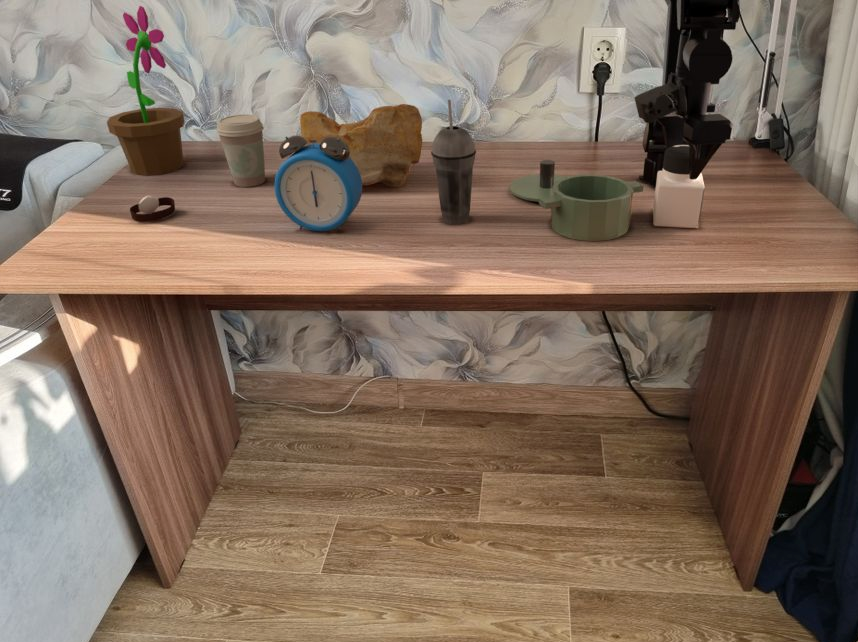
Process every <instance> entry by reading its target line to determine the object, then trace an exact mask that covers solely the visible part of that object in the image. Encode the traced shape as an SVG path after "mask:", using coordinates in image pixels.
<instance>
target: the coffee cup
mask: <svg viewBox="0 0 858 642" xmlns="http://www.w3.org/2000/svg"><path fill="white" fill-rule="evenodd" d="M264 129H265V128H264V126H263V123H262V121H261V119H260V117H259V116H258V115H254V114H248V113H247V114H244V113H243V114H233V115H228V116H224V117H221V118H219V119H218V120H217V127H216V134H217V135H218V136H219V140H220V143H221V145H222V149H223V152H224V155H225V159H226V161H227V165H228V167H229V171H230V174H231V177H232V180H233V183H234V185H235V186H236V187H240V188H253V187H256V186H261V185H262V184H264V183H265V182H266V172H265V153H264V136H263V135H264V134H263V130H264Z"/></svg>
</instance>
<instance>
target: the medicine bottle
mask: <svg viewBox="0 0 858 642" xmlns="http://www.w3.org/2000/svg"><path fill="white" fill-rule="evenodd" d="M689 151H690V147H689V145H676V146H672V147H669V148H668V149H667V150H666V151H665V154H664V162H663V170H662V171H658V173H657V181H656V188H655V189H654V190H655V191H654V198H653V206H652V221H653V223H652V224H653V226H654V227H665V228H682V229H683V228H684V229H698V228H699V227H700V226H699V225H700V220H701V214H702V207H703V202H704V194H705V189H706V187H705V182H704V177H703V173H702V172H701V173H700V175H699V176H698V178H697V179H692V180H691V179H690V178H689Z"/></svg>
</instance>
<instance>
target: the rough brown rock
mask: <svg viewBox="0 0 858 642" xmlns="http://www.w3.org/2000/svg"><path fill="white" fill-rule="evenodd" d="M299 117H300V118H299V122H300V132H301V134H300V135H301V136H302V137H304V138H305V139H306V140H307V142H308V143H307V144H306V145H309V144H314V143H320V142H321V141H322V140H323V139H324V138H326V137H329V136H335V137H338V138H340V139H342V140H343V141H345V142H346V144H347V145H348V147H349V150H350V155H349V157H350V158H351V160H352V161H353V162H354V163H355V165H356V167H357V168H358V171H359V173H360V176H361V180H362V186H370V185H373V184H376V183H381V184H384V185H386V186H388V187H392V188H401V187H402V186H404V185H405V184H406V181H407V178H408V175H409V173H410V169H411V168H410V167H412V166H414V165H416V164H418V163H420V161H421V155H422V149H423V135H422V128H423V117H422V115H421V113H420V110H419V108H418V107H416V106H415V105H412V104H407V103H402V104H398V105H397V104H396V105H384V106H378V107H375V108H373V109H372V110H371V111H370V113H369V115H368V116H367V117H364V119H361V120H359V121H357V122H352V123H341V124H340V123H338V122H337V121H336V120H334V119H332V118H330V117H328V116H327V115H325V113H323V112H321V111H313V110H311V111H310V110H309V111H305V112H303V113H301V114H300V116H299ZM309 140H316V142H309ZM306 145H304V146H306Z"/></svg>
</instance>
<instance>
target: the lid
mask: <svg viewBox="0 0 858 642" xmlns="http://www.w3.org/2000/svg"><path fill="white" fill-rule="evenodd" d="M555 165H556V161H555V160H553V159H542V160H540V162H539V173H536V174H535V173H533V174H529V175H523V176H519V177H517V178H515V179H513V180H512V181H511V182H510V183H509V185H508V187H509V189H508V190H509V192H510V193H511V194H512V195H513V196H515V197H517V198H519V199H521V200H525V201H530V202H536V203H539V198H544V197H550V196H552V186H553V185H554V184H555V182H556V181H558V180H560V179H563V178H565V177H569V175H563V174H556V173H555V169H556V167H555Z"/></svg>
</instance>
